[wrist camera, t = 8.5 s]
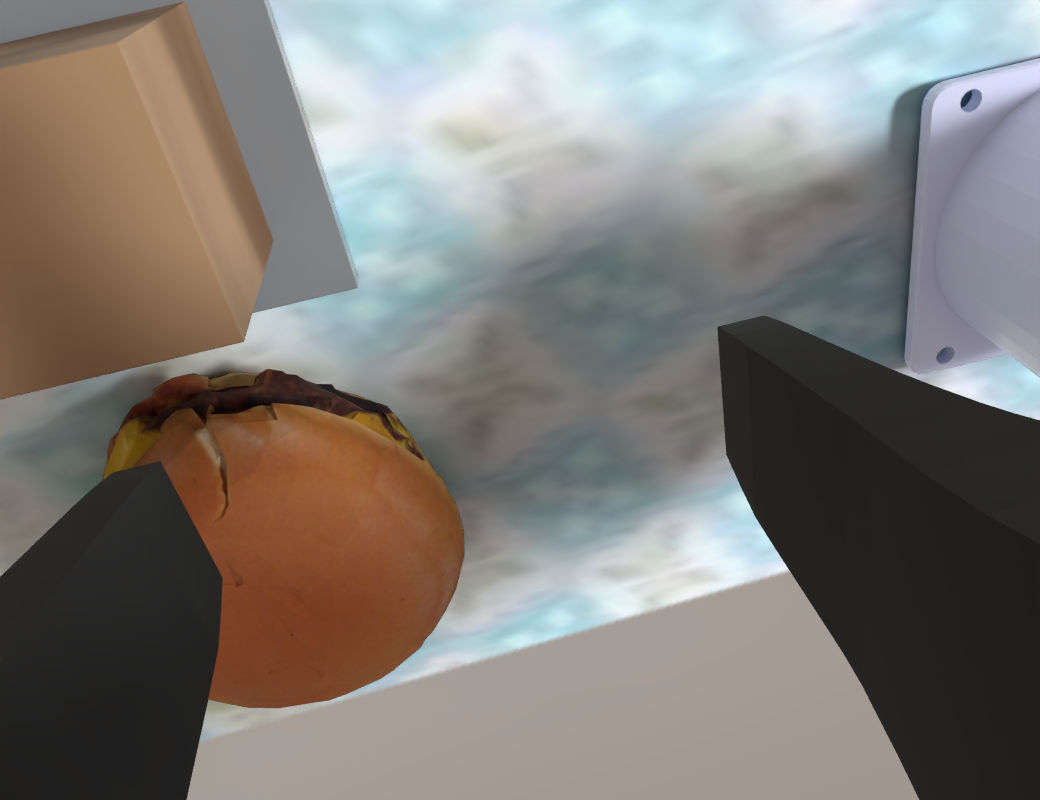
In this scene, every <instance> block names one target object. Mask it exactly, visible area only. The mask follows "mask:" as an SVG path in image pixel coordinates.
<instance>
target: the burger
mask: <svg viewBox="0 0 1040 800" xmlns="http://www.w3.org/2000/svg"><path fill="white" fill-rule="evenodd" d="M159 461H161V463H162V465H163V467H164V469H165V471H166V472H167V474H168V476H169V478H170V480H171V482H172V484H173V485H174V487H175V489H176V491H177V493H178V495H179V497H180V499H181V500H182V502H183V504H184V506H185V508H186V510H187V512H188V514H189V515H190V517H191V519H192V521H193V523H194V525H195V527H196V529H197V530H198V532H199V534H200V536H201V538H202V540H203V542H204V543H205V545H206V547H207V549H208V551H209V553H210V555H211V557H212V558H213V560H214V562H215V564H216V566H217V568H218V570H219V572H220V573H221V575H222V577H223V583H222V605H221V623H220V635H219V648H218V653H217V658H216V664H215V669H214V674H213V678H212V683H211V688H210V693H209V698H208V700H213V701H218V702H222V703H227V704H233V705H238V706H243V707H248V708H282V707H288V706H295V705H301V704H308V703H314V702H321V701H328V700H331V699H334V698H337V697H340V696H342V695H345V694H348V693H350V692H352V691H354V690H356V689H359V688H361V687H363V686H365V685H368V684H370V683H372V682H374V681H376V680H379V679H381V678H382V677H384V676H385V675H387V674H388V673H390V672H392V671H393V670H394V669H395V668H397V667H398V666H399V665H400V664H401V663H403V662H404V661H405V660H406V659H407V658H409V657H410V656H411V655H412V654H413V653H415V652H416V651H417V650H418V649H419V648H421V646H422V644H423V642H424V641H425V639H426V638H427V637H428V636H429V635H430V634H431V633H432V631H433V630H434V629H435V627H436V625H437V624H438V622H439V621H440V619H441V617H442V616H443V614H444V612H445V611H446V609H447V607H448V605H449V603H450V601H451V599H452V596H453V594H454V592H455V590H456V587H457V583H458V579H459V575H460V571H461V566H462V562H463V558H464V529H463V526H462V522H461V519H460V515H459V512H458V509H457V505H456V503H455V501H454V500H453V498H452V496H451V495H450V493H449V491H448V490H447V488H446V486H445V484H444V482H443V480H442V478H441V477H439V476H438V475H436V473H435V471H434V470H433V468H432V466H431V464H430V463H429V461H428V459H427V458H426V456H425V455H424V454H423V452H422V451H421V449H420V448H419V446H418V445H417V443H416V442H415V440H414V439H413V437H412V436H411V435H410V434H409V432H408V431H407V430H406V428H405V427H404V426H403V424H402V423H401V422H400V420H399V419H398V418H397V417H396V416H395V415H394V413H393V412H392V411H391V410H390V409H389V408H388V407H387V406H385V405H382V404H379V403H376V402H373V401H370V400H367V399H365V398H362V397H360V396H357V395H354V394H350V393H346V392H343V391H339V390H336V389H335V388H334V387H333V385H332V384H314V383H311V382H308V381H306V380H304V379H302V378H300V377H298V376H297V375H290V374H285V373H284V372H282V371H277V370H270V369H267V370H265V371H263V372H262V373H260V374H259V375H257V374H251V373H230V374H227V375H225V376H222V377H218V378H213V379H209V380H208V376H203V375H198V374H193V373H192V374H188V375H184V376H179V377H175V378H172V379H170V380H168V381H166V382H164V383H162V384H161V385H159V386H158V387H156V388H155V389H154V390H153V396H152V397H150V398H148V399H146V400H144V401H143V402H141V403H139V404H137V405H135V406H134V407H133V408H132V409H131V410H130V412H129V413H128V414H127V415H126V417H125V419H124V421H123V423H122V425H121V427H120V429H119V431H118V433H117V434H115V435H114V436H113V437H112V438H111V440H110V444H109V448H108V457H107V463H106V466H105V470H104V474H103V480H104V479H105V478H107V477H108V476H109V475H110V474H112V473H113V472H117V471H121V470H125V469H130V468H134V467H138V466H142V465H146V464H150V463H155V462H159Z"/></svg>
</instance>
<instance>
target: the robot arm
mask: <svg viewBox="0 0 1040 800" xmlns="http://www.w3.org/2000/svg"><path fill="white" fill-rule="evenodd" d="M969 90H971V91H972V96H971V99H970V101H969V102H968V104H967V105H966V106H964V107H962V108H961V106H960V102H961V99H962V97H963V96H964V94H965V93H966V92H967V91H969ZM718 341H719V355H720V369H721V384H722V398H723V412H724V427H725V441H726V455H727V457H728V459H729V461H730V464H731V466H732V468H733V470H734V472H735V475H736V477H737V479H738V481H739V484H740V486H741V488H742V490H743V492H744V494H745V496H746V498H747V501H748V503H749V505H750V507H751V509H752V511H753V513H754V515H755V517H756V519H757V520H758V522H759V523H760V525H761V527H762V528H763V530H764V531H765V533H766V535H767V536H768V538H769V539H770V541H771V542H772V544H773V545H774V547H775V549H776V550H777V552H778V553H779V555H780V556H781V558H782V560H783V561H784V563H785V564H786V566H787V567H788V569H789V570H790V572H791V573H792V575H793V577H794V578H795V580H796V581H797V582H798V584H799V586H800V587H801V589H802V590H803V592H804V593H805V595H806V597H807V598H808V600H809V601H810V603H811V604H812V605H813V607H814V609H815V610H816V612H817V613H818V615H819V616H820V618H821V619H822V621H823V623H824V624H825V626H826V627H827V629H828V630H829V632H830V633H831V635H832V636H833V638H834V639H835V641H836V643H837V644H838V646H839V647H840V649H841V650H842V652H843V654H844V655H845V657H846V658H847V660H848V662H849V664H850V665H851V667H852V669H853V670H854V672H855V674H856V676H857V677H858V679H859V681H860V682H861V684H862V686H863V688H864V690H865V692H866V694H867V696H868V697H869V700H870V702H871V704H872V706H873V708H874V710H875V711H876V713H877V715H878V717H879V719H880V721H881V723H882V725H883V727H884V729H885V731H886V733H887V735H888V737H889V739H890V741H891V742H892V745H893V747H894V749H895V751H896V753H897V754H898V757H899V759H900V761H901V763H902V765H903V767H904V769H905V771H906V773H907V775H908V777H909V779H910V781H911V783H912V785H913V788H914V790H915V792H916V794H917V796H918V798H919V800H1040V420H1036V419H1032V418H1029V417H1025V416H1022V415H1018V414H1015V413H1011V412H1008V411H1005V410H1002V409H999V408H996V407H992V406H989V405H986V404H983V403H980V402H977V401H975V400H972V399H969V398H966V397H963V396H961V395H958V394H955V393H952V392H949V391H947V390H944V389H941V388H938V387H935V386H933V385H930V384H927V383H925V382H922V381H920V380H917V379H914V378H912V377H909V376H907V375H904V374H902V373H899V372H897V371H894V370H892V369H890V368H887V367H885V366H882V365H880V364H878V363H875V362H873V361H870V360H868V359H866V358H863V357H861V356H859V355H856V354H854V353H852V352H850V351H847V350H845V349H843V348H840V347H838V346H836V345H834V344H831V343H829V342H827V341H825V340H822V339H820V338H818V337H816V336H813V335H811V334H809V333H807V332H804V331H802V330H800V329H797V328H795V327H793V326H790V325H788V324H786V323H783V322H781V321H778V320H775V319H773V318H770V317H767V316H760V317H756V318H752V319H748V320H744V321H740V322H736V323H731V324H727V325H723V326H719V327H718ZM943 348H946V350H945V351H944V352H943V353H942V355H939V356H937V354H938V353H939V352H940V351H941V349H943ZM1005 354H1008V355H1010V356H1011V357H1013V358H1014V359H1015V360H1017V361H1018V362H1019V363H1021V364H1022V365H1023V366H1025V367H1026V368H1027V369H1029V370H1030V371H1031V372H1033V373H1034V374H1035V375H1037V376H1038V377H1039V378H1040V58H1038V59H1034V60H1029V61H1025V62H1021V63H1017V64H1013V65H1008V66H1004V67H1000V68H996V69H991V70H987V71H983V72H979V73H974V74H970V75H966V76H962V77H958V78H953V79H949V80H945V81H942V82H940V83H938V84H936V85H935V86H933V87H932V88H931V89H930V90H929V91H928V93H927V95H926V96H925V98H924V101H923V105H922V113H921V127H920V141H919V156H918V170H917V184H916V199H915V213H914V227H913V242H912V256H911V270H910V285H909V299H908V313H907V328H906V342H905V356H904V358H905V363H906V365H907V366H908V367H909V368H910V369H911V370H912V371H913V372H915V373H918V374H927V373H931V372H935V371H939V370H943V369H948V368H952V367H956V366H960V365H964V364H968V363H972V362H976V361H980V360H985V359H989V358H993V357H997V356H1001V355H1005ZM222 583H223V577H222V575H221V573H220V572H219V570H218V568H217V566H216V564H215V562H214V560H213V558H212V557H211V555H210V553H209V551H208V549H207V547H206V545H205V543H204V542H203V540H202V538H201V536H200V534H199V532H198V530H197V529H196V527H195V525H194V523H193V521H192V519H191V517H190V515H189V514H188V512H187V510H186V508H185V506H184V504H183V502H182V500H181V499H180V497H179V495H178V493H177V491H176V489H175V487H174V485H173V484H172V482H171V480H170V478H169V476H168V474H167V472H166V471H165V469H164V467H163V465H162V463H161V461H159V462H155V463H150V464H146V465H142V466H138V467H134V468H130V469H125V470H121V471H117V472H113V473H112V474H110V475H109V476H108V477H107V478H105V479H104V480H103V481H101V482H100V483H99V484H98V485H97V486H95V487H94V488H93V489H92V490H91V491H90V492H89V493H88V494H86V495H85V496H84V497H83V498H82V499H81V500H80V501H79V502H78V503H77V504H76V505H74V506H73V507H72V508H71V509H70V510H69V511H68V512H67V513H66V514H65V515H64V516H63V517H62V518H61V519H60V520H59V521H58V522H57V523H56V524H55V525H54V526H53V527H52V528H50V529H49V530H48V531H47V532H46V533H45V534H44V535H43V536H42V537H41V538H40V539H39V540H38V541H37V542H36V543H35V544H34V545H33V546H32V547H31V548H30V549H29V550H28V551H27V552H26V553H25V554H24V555H23V556H22V557H21V558H19V559H18V560H17V561H16V562H15V563H14V564H13V565H12V566H11V567H10V568H9V569H8V570H7V571H6V572H5V573H4V574H3V575H2V576H1V577H0V800H186V799H187V795H188V790H189V785H190V781H191V776H192V772H193V767H194V762H195V758H196V753H197V748H198V744H199V739H200V735H201V730H202V726H203V721H204V717H205V712H206V707H207V703H208V698H209V693H210V688H211V683H212V678H213V674H214V669H215V664H216V658H217V653H218V648H219V635H220V623H221V605H222Z"/></svg>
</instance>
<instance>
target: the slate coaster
mask: <svg viewBox="0 0 1040 800" xmlns="http://www.w3.org/2000/svg"><path fill="white" fill-rule="evenodd" d="M181 2H185V3H186V6H187V9H188V11H189V14H190V17H191V19H192V22H193V25H194V27H195V30H196V33H197V36H198V38H199V41H200V44H201V46H202V49H203V52H204V54H205V57H206V60H207V62H208V65H209V68H210V70H211V73H212V76H213V78H214V81H215V84H216V87H217V89H218V92H219V95H220V97H221V100H222V103H223V105H224V108H225V111H226V113H227V116H228V119H229V121H230V124H231V127H232V129H233V132H234V135H235V137H236V140H237V143H238V146H239V148H240V151H241V154H242V156H243V159H244V162H245V164H246V167H247V170H248V172H249V175H250V178H251V180H252V183H253V186H254V188H255V191H256V194H257V197H258V199H259V202H260V205H261V207H262V210H263V213H264V215H265V218H266V221H267V223H268V226H269V229H270V231H271V234H272V237H273V239H274V240H273V244H272V247H271V251H270V254H269V257H268V261H267V264H266V268H265V271H264V274H263V278H262V281H261V285H260V288H259V292H258V295H257V298H256V302H255V305H254V309H253V312H252V313H255V312H259V311H263V310H267V309H271V308H276V307H280V306H284V305H288V304H292V303H297V302H301V301H305V300H309V299H313V298H318V297H322V296H326V295H330V294H334V293H339V292H343V291H347V290H351V289H355V288H358V275H357V272H356V269H355V266H354V263H353V260H352V257H351V254H350V251H349V248H348V245H347V242H346V238H345V235H344V232H343V229H342V226H341V223H340V220H339V217H338V214H337V211H336V208H335V204H334V201H333V198H332V195H331V192H330V189H329V186H328V183H327V180H326V177H325V174H324V170H323V167H322V164H321V161H320V158H319V155H318V152H317V149H316V146H315V143H314V140H313V136H312V133H311V130H310V127H309V124H308V121H307V118H306V115H305V112H304V109H303V106H302V103H301V99H300V96H299V93H298V90H297V87H296V84H295V81H294V78H293V75H292V72H291V69H290V65H289V62H288V59H287V56H286V53H285V50H284V47H283V44H282V41H281V38H280V35H279V31H278V28H277V25H276V22H275V19H274V16H273V13H272V10H271V7H270V4H269V1H268V0H0V44H1V43H6V42H10V41H14V40H19V39H23V38H27V37H32V36H36V35H41V34H45V33H49V32H54V31H58V30H62V29H67V28H71V27H76V26H80V25H84V24H89V23H93V22H97V21H102V20H106V19H111V18H115V17H119V16H124V15H128V14H132V13H137V12H141V11H146V10H150V9H154V8H159V7H163V6H167V5H172V4H176V3H181Z"/></svg>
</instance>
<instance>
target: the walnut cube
mask: <svg viewBox="0 0 1040 800" xmlns="http://www.w3.org/2000/svg"><path fill="white" fill-rule="evenodd" d="M273 240H274V239H273V237H272V234H271V231H270V229H269V226H268V223H267V221H266V218H265V215H264V213H263V210H262V207H261V205H260V202H259V199H258V197H257V194H256V191H255V188H254V186H253V183H252V180H251V178H250V175H249V172H248V170H247V167H246V164H245V162H244V159H243V156H242V154H241V151H240V148H239V146H238V143H237V140H236V137H235V135H234V132H233V129H232V127H231V124H230V121H229V119H228V116H227V113H226V111H225V108H224V105H223V103H222V100H221V97H220V95H219V92H218V89H217V87H216V84H215V81H214V78H213V76H212V73H211V70H210V68H209V65H208V62H207V60H206V57H205V54H204V52H203V49H202V46H201V44H200V41H199V38H198V36H197V33H196V30H195V27H194V25H193V22H192V19H191V17H190V14H189V11H188V9H187V6H186V3H185V2H181V3H176V4H172V5H167V6H163V7H159V8H154V9H150V10H146V11H141V12H137V13H132V14H128V15H124V16H119V17H115V18H111V19H106V20H102V21H97V22H93V23H89V24H84V25H80V26H76V27H71V28H67V29H62V30H58V31H54V32H49V33H45V34H41V35H36V36H32V37H27V38H23V39H19V40H14V41H10V42H6V43H1V44H0V400H1V399H5V398H9V397H13V396H17V395H22V394H26V393H30V392H34V391H38V390H43V389H47V388H51V387H55V386H60V385H64V384H68V383H72V382H76V381H81V380H85V379H89V378H93V377H97V376H102V375H106V374H110V373H114V372H119V371H123V370H127V369H131V368H135V367H140V366H144V365H148V364H152V363H156V362H161V361H165V360H169V359H173V358H177V357H182V356H186V355H190V354H194V353H199V352H203V351H207V350H211V349H215V348H220V347H224V346H228V345H232V344H236V343H241V342H244V339H245V336H246V332H247V329H248V326H249V322H250V319H251V315H252V312H253V309H254V305H255V302H256V298H257V295H258V292H259V288H260V285H261V281H262V278H263V274H264V271H265V268H266V264H267V261H268V257H269V254H270V251H271V247H272V244H273Z"/></svg>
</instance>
